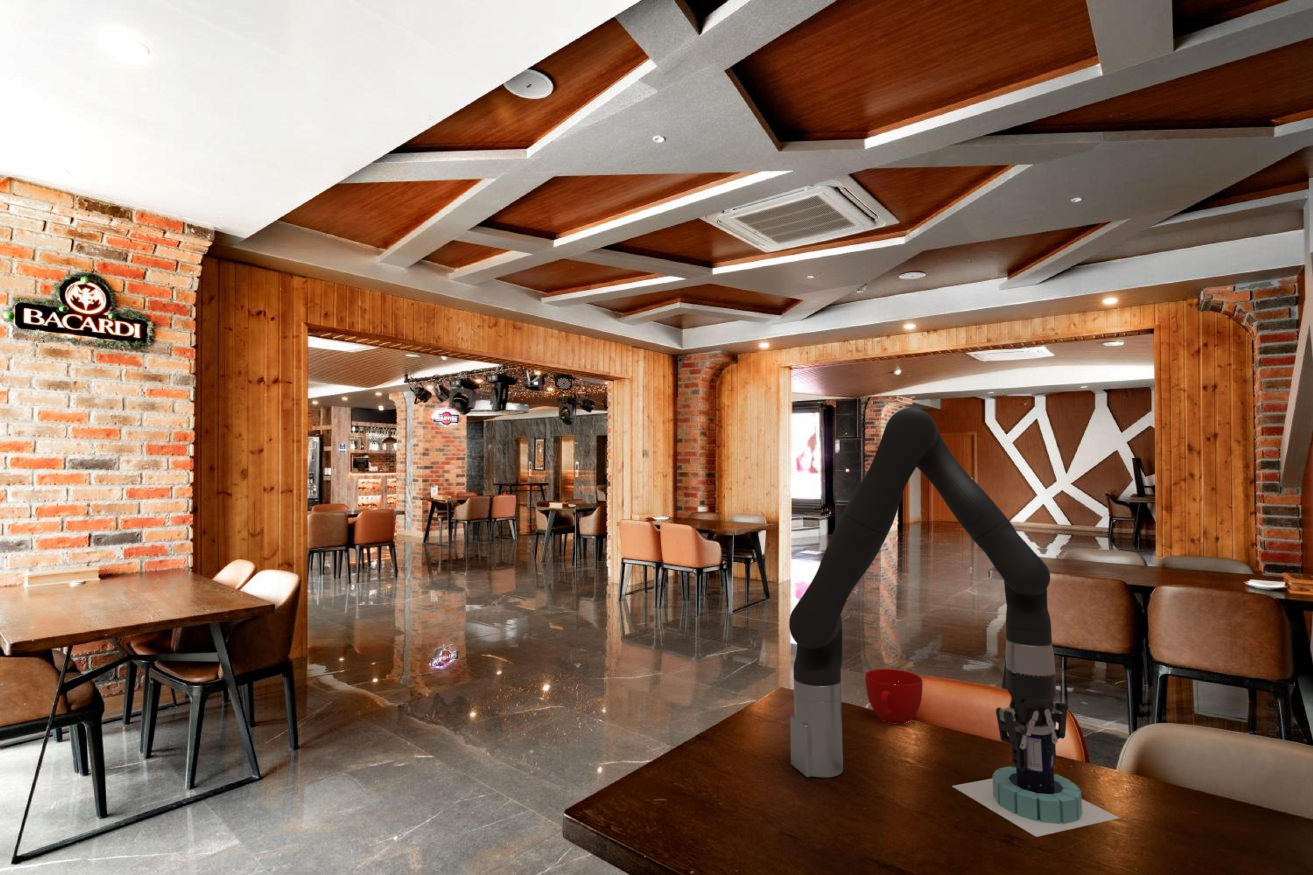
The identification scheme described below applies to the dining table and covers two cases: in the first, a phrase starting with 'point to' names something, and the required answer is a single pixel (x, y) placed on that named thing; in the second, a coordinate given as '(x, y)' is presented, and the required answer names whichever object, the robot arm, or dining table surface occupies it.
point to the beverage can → (1038, 762)
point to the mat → (984, 795)
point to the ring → (1038, 798)
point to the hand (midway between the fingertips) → (1034, 765)
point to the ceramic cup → (894, 694)
